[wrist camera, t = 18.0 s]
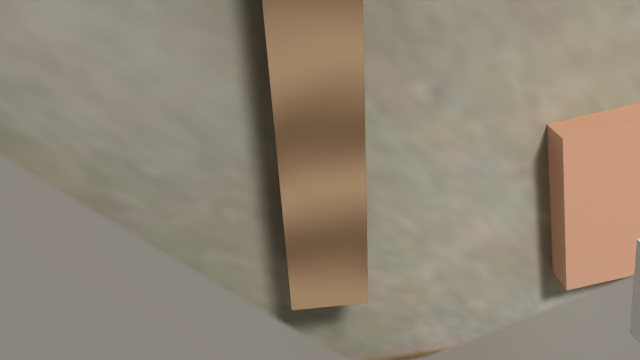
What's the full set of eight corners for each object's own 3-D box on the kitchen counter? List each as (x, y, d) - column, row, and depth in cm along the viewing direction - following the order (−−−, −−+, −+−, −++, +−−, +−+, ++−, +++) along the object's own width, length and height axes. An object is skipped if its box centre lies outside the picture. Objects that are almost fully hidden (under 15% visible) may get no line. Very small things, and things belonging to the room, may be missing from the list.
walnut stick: (252, -124, 25) (250, -122, 21) (345, -129, 26) (360, -129, 22) (288, 259, 35) (291, 310, 31) (356, 253, 35) (368, 303, 31)
